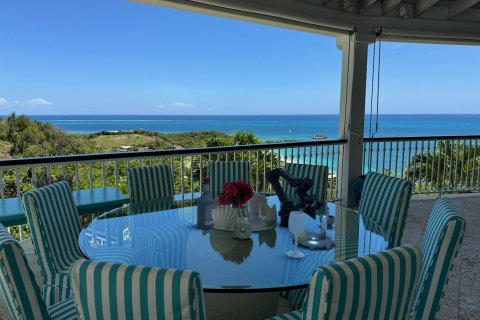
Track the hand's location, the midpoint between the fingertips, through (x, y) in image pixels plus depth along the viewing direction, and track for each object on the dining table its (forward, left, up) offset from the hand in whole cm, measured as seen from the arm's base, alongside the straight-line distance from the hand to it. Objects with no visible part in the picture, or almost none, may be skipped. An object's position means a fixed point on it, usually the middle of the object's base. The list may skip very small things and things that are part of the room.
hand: (315, 219), depth 211 cm
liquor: (-64, 0, -11) cm, 65 cm away
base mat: (0, -10, -11) cm, 15 cm away
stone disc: (-38, -14, -11) cm, 42 cm away
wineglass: (-8, -31, -11) cm, 34 cm away
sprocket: (0, -10, -11) cm, 15 cm away
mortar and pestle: (+7, +25, -11) cm, 28 cm away
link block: (-7, -12, -8) cm, 16 cm away
